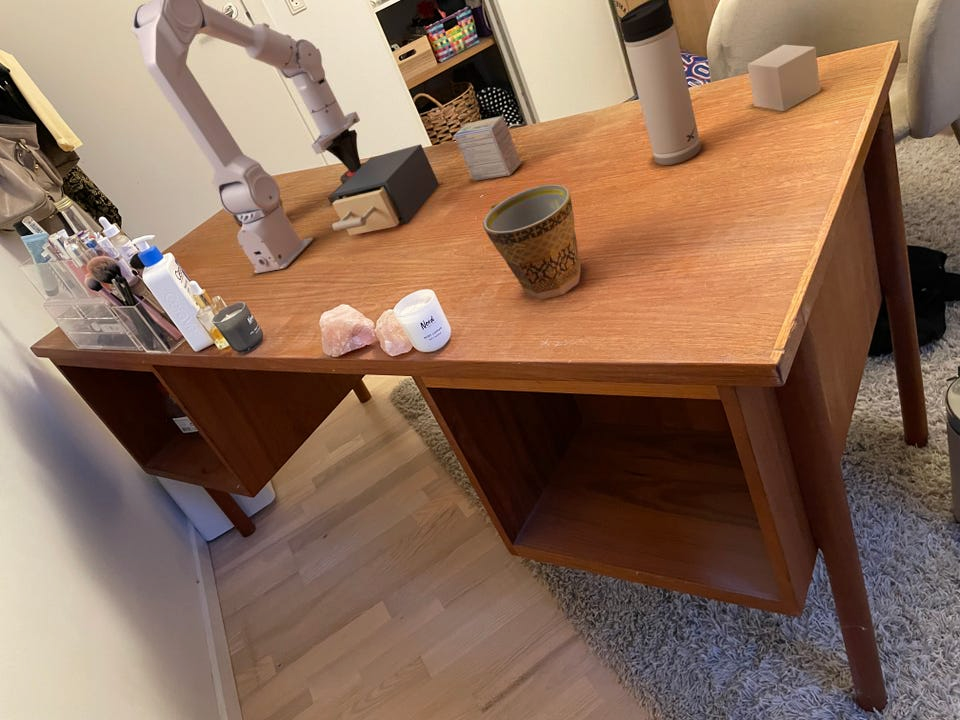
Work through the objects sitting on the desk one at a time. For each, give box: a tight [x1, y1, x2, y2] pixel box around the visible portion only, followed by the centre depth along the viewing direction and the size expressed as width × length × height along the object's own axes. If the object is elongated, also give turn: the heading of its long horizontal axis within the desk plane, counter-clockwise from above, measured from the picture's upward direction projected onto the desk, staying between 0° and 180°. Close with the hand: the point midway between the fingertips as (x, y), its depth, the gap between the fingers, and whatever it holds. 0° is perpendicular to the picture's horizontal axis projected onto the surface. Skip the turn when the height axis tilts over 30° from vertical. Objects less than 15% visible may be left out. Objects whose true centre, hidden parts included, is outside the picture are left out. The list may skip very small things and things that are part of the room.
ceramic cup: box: [482, 184, 582, 300], centre depth 78 cm, size 13×10×10 cm
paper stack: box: [453, 115, 522, 182], centre depth 114 cm, size 8×4×9 cm, turn 58°
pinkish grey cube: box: [747, 44, 821, 112], centre depth 93 cm, size 6×6×6 cm
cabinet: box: [334, 143, 440, 226], centre depth 119 cm, size 13×11×8 cm
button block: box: [327, 161, 367, 206], centre depth 139 cm, size 12×10×4 cm
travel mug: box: [619, 0, 702, 166], centre depth 89 cm, size 6×7×20 cm
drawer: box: [331, 185, 400, 236], centre depth 116 cm, size 17×10×6 cm, turn 157°
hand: (356, 170), depth 138 cm, fingers closed, pressing on button
